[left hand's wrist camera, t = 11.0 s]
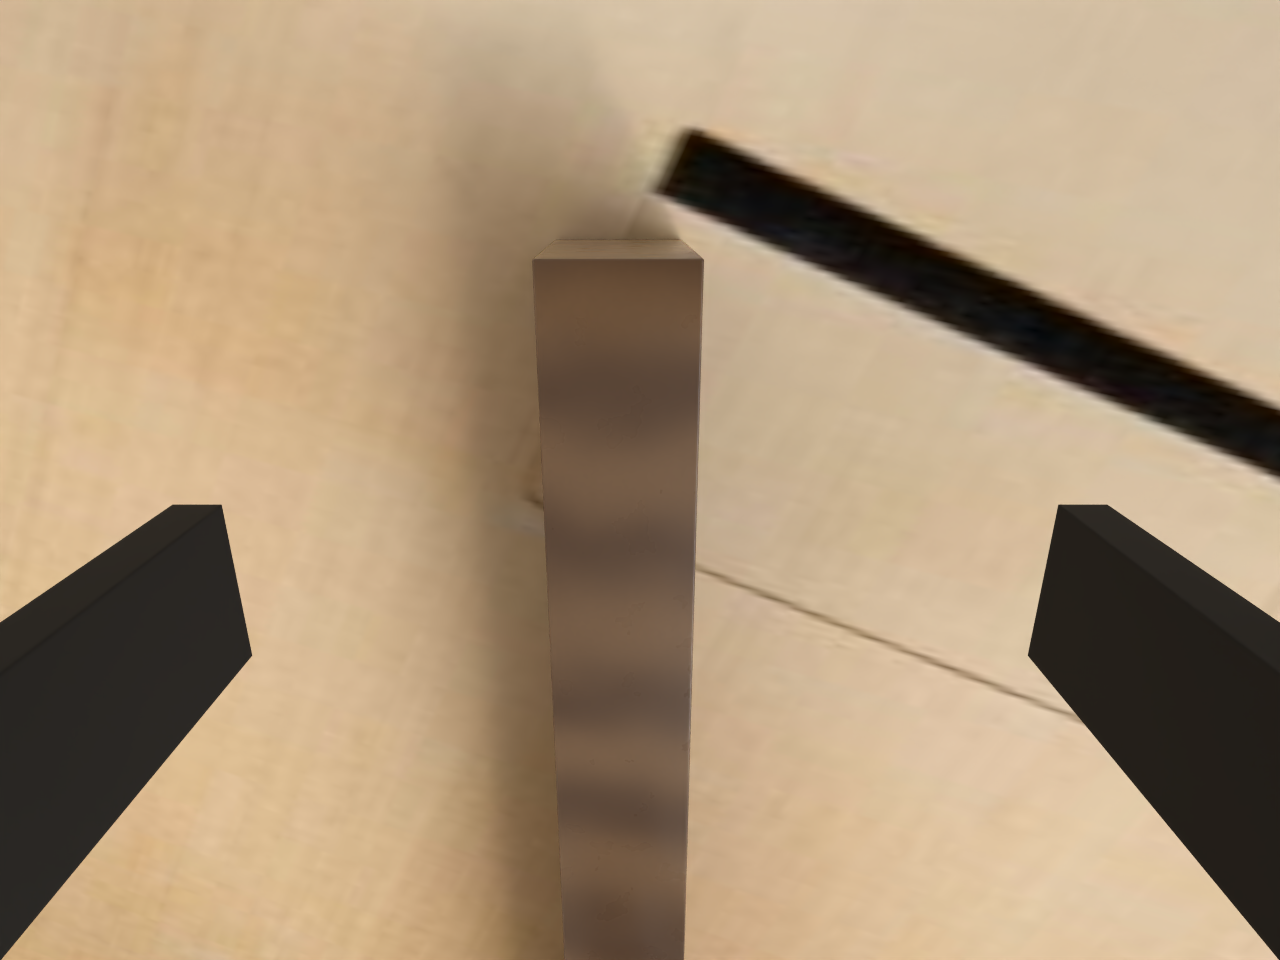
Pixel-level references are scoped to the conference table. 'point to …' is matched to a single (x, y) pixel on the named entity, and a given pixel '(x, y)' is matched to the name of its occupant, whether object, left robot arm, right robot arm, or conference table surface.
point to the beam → (620, 579)
